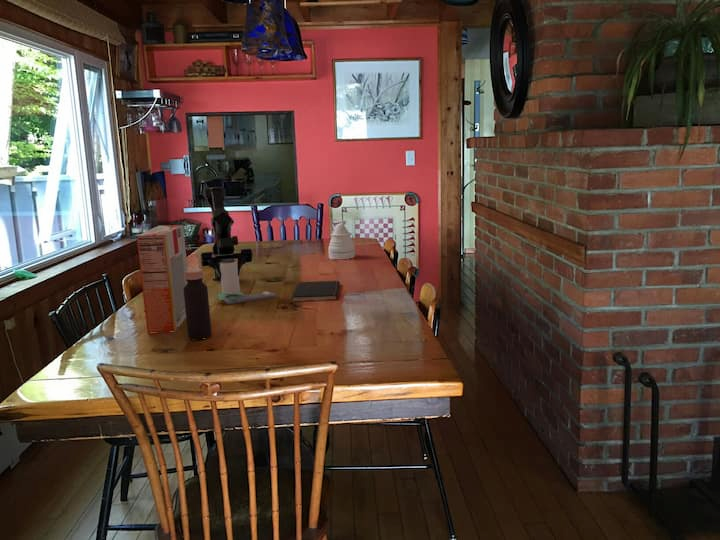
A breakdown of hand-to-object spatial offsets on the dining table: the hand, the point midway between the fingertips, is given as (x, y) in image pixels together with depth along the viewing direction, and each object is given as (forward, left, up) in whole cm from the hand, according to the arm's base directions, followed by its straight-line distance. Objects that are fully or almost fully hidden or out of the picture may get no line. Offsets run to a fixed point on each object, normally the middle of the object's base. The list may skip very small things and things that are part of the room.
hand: (229, 276), depth 221 cm
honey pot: (+2, +83, -8) cm, 83 cm away
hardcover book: (+27, +17, -9) cm, 33 cm away
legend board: (+8, 0, -8) cm, 12 cm away
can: (-1, +1, -7) cm, 7 cm away
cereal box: (+1, -32, -8) cm, 34 cm away
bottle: (+21, -41, -8) cm, 47 cm away
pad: (-1, +1, -8) cm, 8 cm away
